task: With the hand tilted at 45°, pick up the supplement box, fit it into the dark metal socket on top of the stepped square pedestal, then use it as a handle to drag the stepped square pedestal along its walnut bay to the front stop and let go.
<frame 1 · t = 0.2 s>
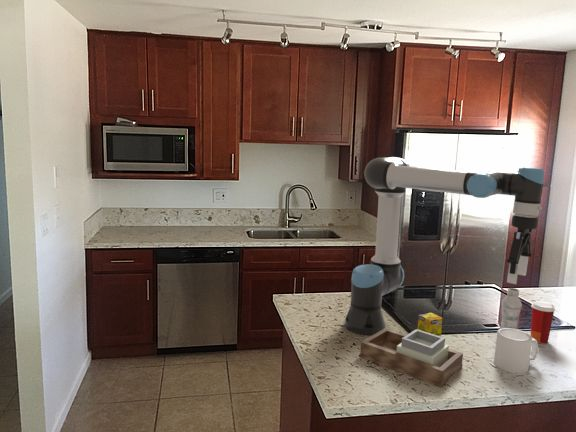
hand: (516, 278, 153), 27 cm above the countertop, tool pointing down, fingers open, 13 cm apart
stepped square pedestal: (422, 350, 149), point 5 cm above the countertop, slide at 0.0 cm
paper cup: (538, 340, 171), on the countertop
mug: (514, 365, 152), on the countertop
plastic bottle: (507, 342, 169), on the countertop
supplement box: (428, 345, 165), on the countertop
bay: (409, 361, 152), on the countertop
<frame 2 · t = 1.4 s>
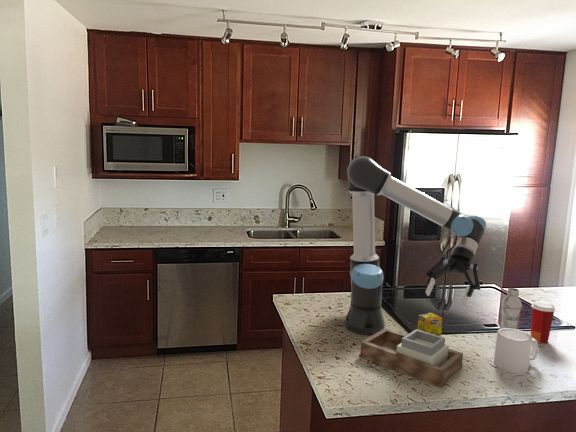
hand: (444, 298, 170), 15 cm above the countertop, tool tilted 45°, fingers open, 13 cm apart
nothing on the countertop moved.
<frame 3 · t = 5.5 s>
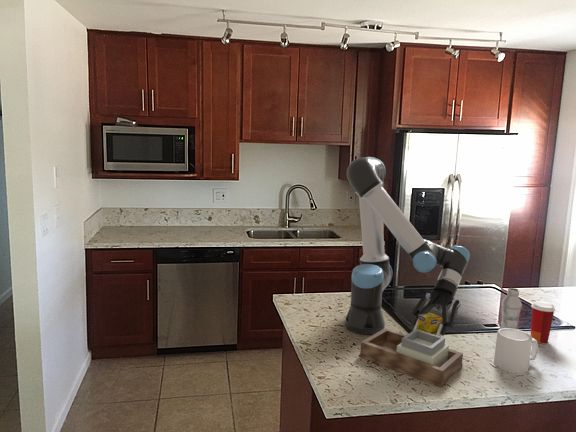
hand: (424, 338, 162), 4 cm above the countertop, tool tilted 45°, fingers closed on supplement box, 7 cm apart
supplement box: (428, 345, 165), on the countertop, touching gripper
everything else where it was.
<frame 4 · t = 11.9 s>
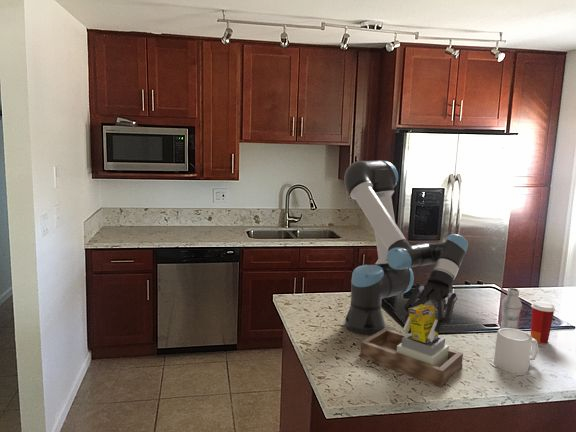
hand: (417, 335, 145), 11 cm above the countertop, tool tilted 45°, fingers closed on supplement box, 8 cm apart
stepped square pedestal: (422, 350, 149), point 5 cm above the countertop, slide at 0.0 cm, touching supplement box
supplement box: (425, 341, 148), point 9 cm above the countertop, touching stepped square pedestal, gripper
everything else where it was.
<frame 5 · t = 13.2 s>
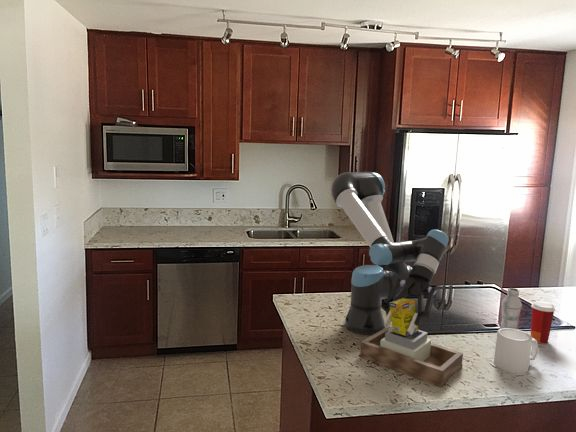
hand: (397, 328, 150), 11 cm above the countertop, tool tilted 45°, fingers closed on supplement box, 8 cm apart
stepped square pedestal: (405, 344, 152), point 5 cm above the countertop, slide at 5.9 cm, touching supplement box
supplement box: (406, 334, 152), point 9 cm above the countertop, touching stepped square pedestal, gripper
everything else where it was.
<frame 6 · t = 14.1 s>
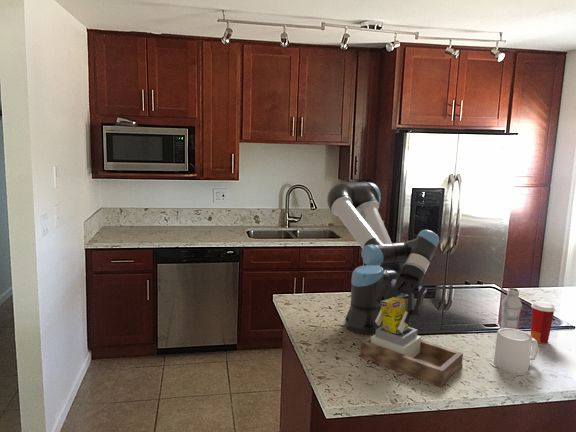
hand: (388, 327, 152), 11 cm above the countertop, tool tilted 45°, fingers closed on supplement box, 8 cm apart
stepped square pedestal: (395, 341, 155), point 5 cm above the countertop, slide at 9.5 cm
supplement box: (396, 332, 154), point 8 cm above the countertop, touching gripper
everything else where it was.
when the fingers open (11 cm above the countertop, at t = 14.6 s): supplement box drops 2 cm, resting on stepped square pedestal.
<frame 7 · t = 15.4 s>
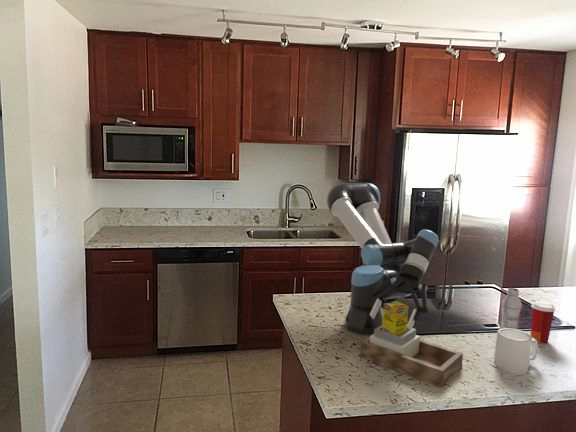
hand: (389, 322, 153), 12 cm above the countertop, tool tilted 45°, fingers open, 13 cm apart
stepped square pedestal: (394, 340, 155), point 5 cm above the countertop, slide at 10.0 cm, touching supplement box
supplement box: (394, 336, 155), point 7 cm above the countertop, touching stepped square pedestal
everything else where it was.
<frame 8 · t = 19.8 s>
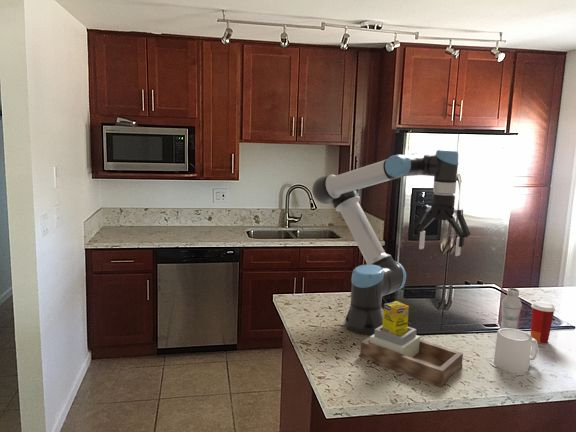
hand: (439, 252, 169), 32 cm above the countertop, tool pointing down, fingers open, 13 cm apart
nothing on the countertop moved.
at the end: stepped square pedestal slide at 9.9 cm; supplement box inside the target area (0.2 cm from its centre), point 6.8 cm above the countertop; supplement box tilted 0° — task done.
